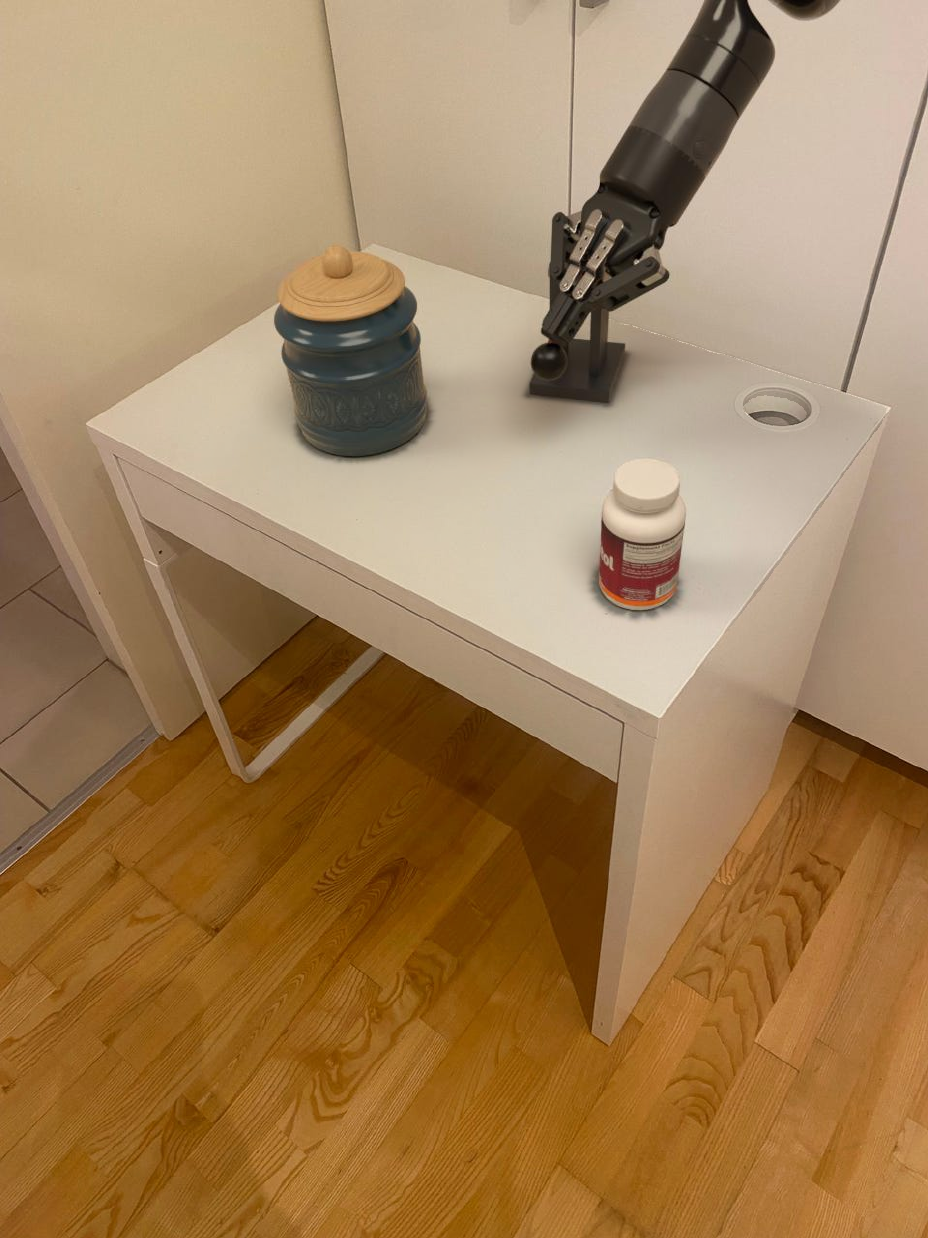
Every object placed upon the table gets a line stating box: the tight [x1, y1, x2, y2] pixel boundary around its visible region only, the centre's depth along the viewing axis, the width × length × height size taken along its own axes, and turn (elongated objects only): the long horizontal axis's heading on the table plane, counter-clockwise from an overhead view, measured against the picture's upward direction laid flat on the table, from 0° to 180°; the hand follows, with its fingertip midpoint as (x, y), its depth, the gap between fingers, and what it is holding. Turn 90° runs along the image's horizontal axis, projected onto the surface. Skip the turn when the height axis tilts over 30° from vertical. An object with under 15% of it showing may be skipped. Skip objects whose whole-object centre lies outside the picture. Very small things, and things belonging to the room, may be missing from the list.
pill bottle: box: [598, 458, 687, 611], centre depth 72 cm, size 6×6×11 cm
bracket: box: [528, 260, 627, 404], centre depth 93 cm, size 9×8×13 cm
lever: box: [530, 259, 589, 381], centre depth 86 cm, size 16×3×3 cm, turn 163°
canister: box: [273, 245, 429, 457], centre depth 88 cm, size 13×13×18 cm
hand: (551, 339), depth 82 cm, fingers closed
